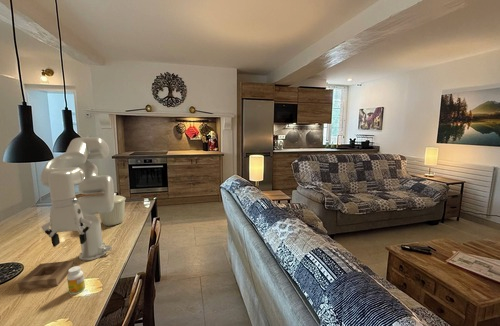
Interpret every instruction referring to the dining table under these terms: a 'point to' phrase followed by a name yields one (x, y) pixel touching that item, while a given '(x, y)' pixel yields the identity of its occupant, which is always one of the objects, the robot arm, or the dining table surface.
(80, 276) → the supplement bottle
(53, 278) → the socket block
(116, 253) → the dining table surface
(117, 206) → the canister
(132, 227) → the dining table surface
